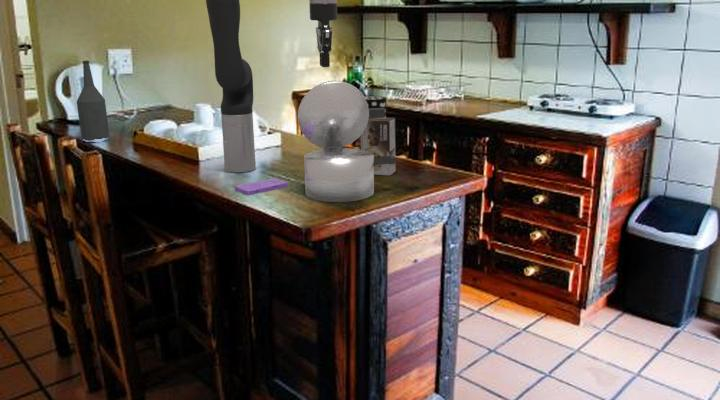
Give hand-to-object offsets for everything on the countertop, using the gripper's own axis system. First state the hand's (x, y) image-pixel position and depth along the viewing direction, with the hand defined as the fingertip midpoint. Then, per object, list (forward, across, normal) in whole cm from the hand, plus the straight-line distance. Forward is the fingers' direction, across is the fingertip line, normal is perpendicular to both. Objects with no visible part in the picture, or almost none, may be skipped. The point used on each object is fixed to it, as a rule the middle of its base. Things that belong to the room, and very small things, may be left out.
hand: (324, 66), depth 175 cm
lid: (+12, +14, +2) cm, 19 cm away
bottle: (+31, -74, -78) cm, 112 cm away
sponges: (+32, +12, -20) cm, 40 cm away
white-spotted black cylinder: (+31, -14, +17) cm, 38 cm away
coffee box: (+31, +2, +15) cm, 35 cm away
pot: (+31, +21, +3) cm, 38 cm away
